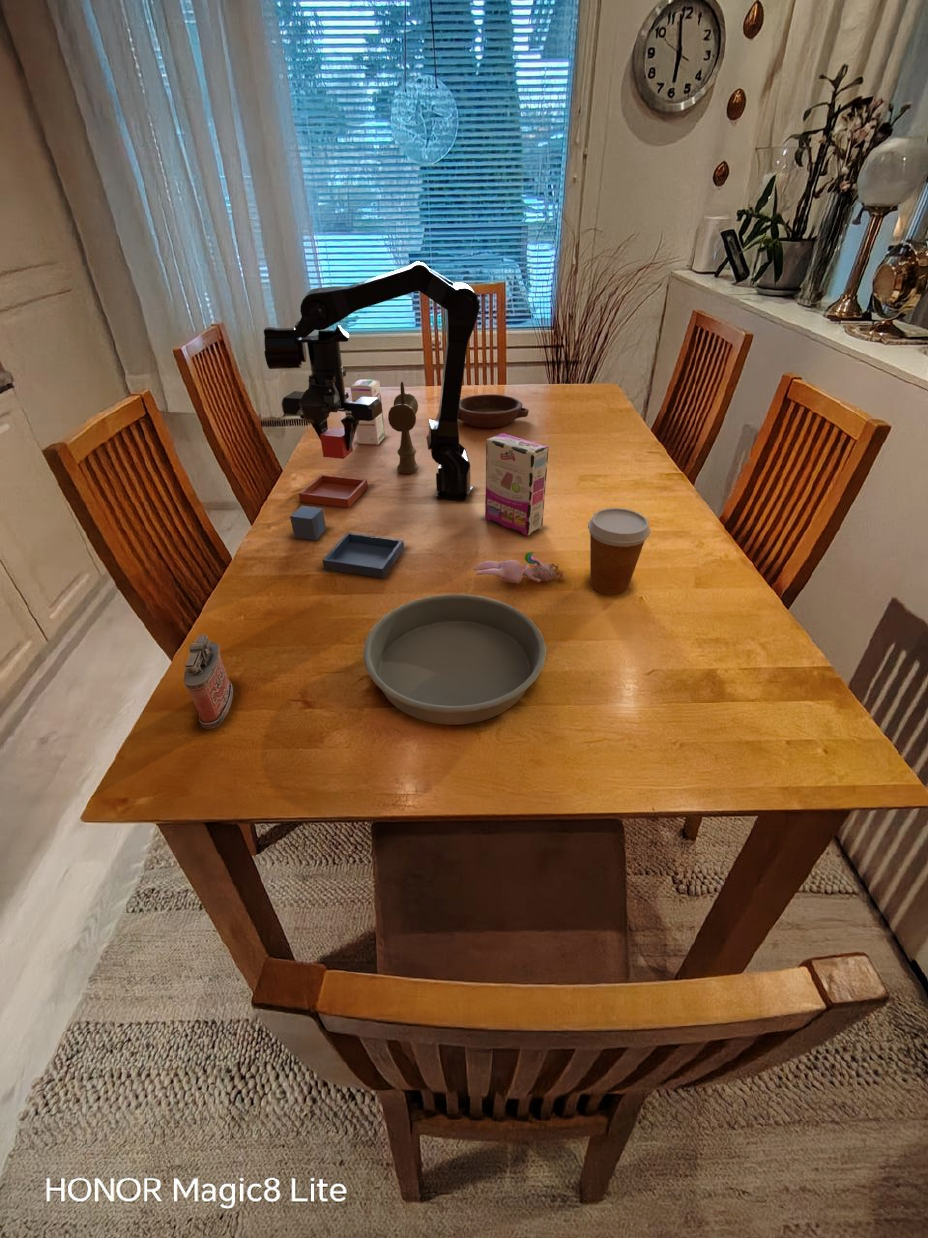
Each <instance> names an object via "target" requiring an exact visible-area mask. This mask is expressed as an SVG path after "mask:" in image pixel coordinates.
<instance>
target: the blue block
mask: <svg viewBox="0 0 928 1238" xmlns="http://www.w3.org/2000/svg"><path fill="white" fill-rule="evenodd" d="M289 518H290V519H289V520H290V523H291V528H292V532H293V538H294V539H295V538H296V539H301V540H302V539H303V540H308V541H309V540H311V541H317V540H318V538H320V536H321V535H322V534H323V533H324V532H325V531H326V530H327V526H326V520H325V513H324V508H322V507H314V506H306V505H301V506H299V507H298V508H297V509H296V510H295V511H294V512H293V513H292V514H291V515H290V516H289Z"/></svg>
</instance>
